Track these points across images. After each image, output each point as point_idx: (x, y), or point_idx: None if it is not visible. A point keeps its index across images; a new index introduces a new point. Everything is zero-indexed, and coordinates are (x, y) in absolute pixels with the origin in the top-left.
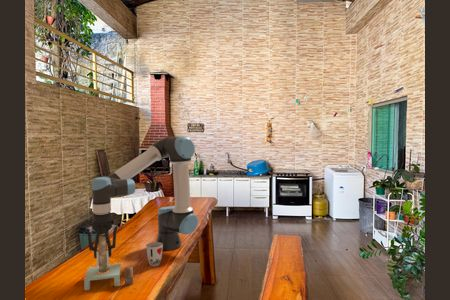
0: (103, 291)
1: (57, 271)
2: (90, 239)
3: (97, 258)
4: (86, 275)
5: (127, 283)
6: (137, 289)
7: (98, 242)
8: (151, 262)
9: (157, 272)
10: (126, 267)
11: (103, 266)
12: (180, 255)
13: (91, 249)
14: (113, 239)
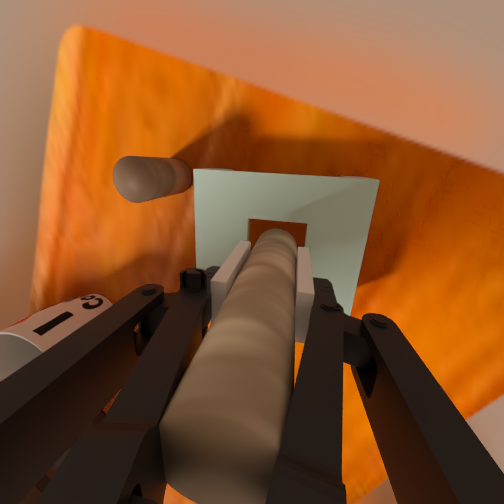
0: (278, 136)
1: (466, 400)
2: (440, 441)
3: (305, 266)
4: (364, 223)
5: (176, 159)
6: (136, 105)
7: (293, 372)
8: (96, 303)
9: (80, 237)
10: (146, 195)
11: (270, 237)
12: None
13: (370, 318)
14: (88, 343)
